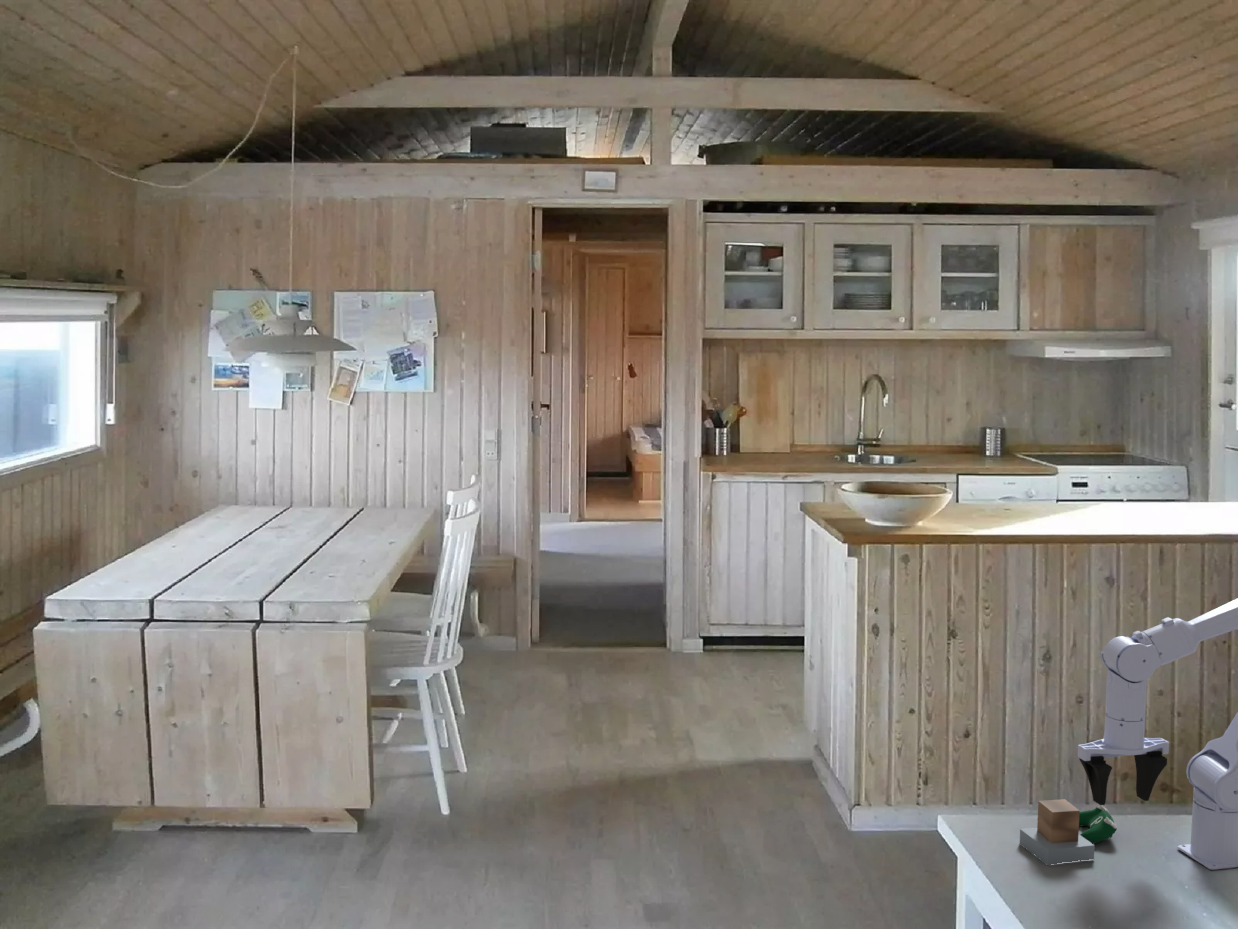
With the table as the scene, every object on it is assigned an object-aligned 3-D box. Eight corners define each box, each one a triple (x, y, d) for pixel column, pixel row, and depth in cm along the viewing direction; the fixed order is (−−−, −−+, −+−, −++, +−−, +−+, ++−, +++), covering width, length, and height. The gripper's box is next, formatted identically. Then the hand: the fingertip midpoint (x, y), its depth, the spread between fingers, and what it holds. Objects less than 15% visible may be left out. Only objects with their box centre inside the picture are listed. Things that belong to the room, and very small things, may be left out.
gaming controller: (1093, 857, 192) (1123, 835, 191) (1076, 840, 192) (1106, 817, 191) (1083, 834, 201) (1111, 812, 200) (1067, 817, 201) (1095, 795, 200)
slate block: (1064, 842, 195) (1064, 824, 194) (1093, 863, 187) (1094, 845, 187) (1019, 846, 193) (1020, 829, 193) (1047, 868, 185) (1048, 850, 185)
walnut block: (1063, 829, 193) (1064, 799, 192) (1078, 841, 188) (1079, 810, 188) (1037, 830, 192) (1038, 800, 191) (1051, 843, 187) (1052, 812, 187)
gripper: (1150, 704, 190) (1146, 786, 192) (1067, 710, 187) (1064, 794, 189) (1179, 718, 183) (1175, 804, 185) (1094, 725, 180) (1090, 812, 182)
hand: (1120, 800), depth 187 cm, fingers open, 7 cm apart
